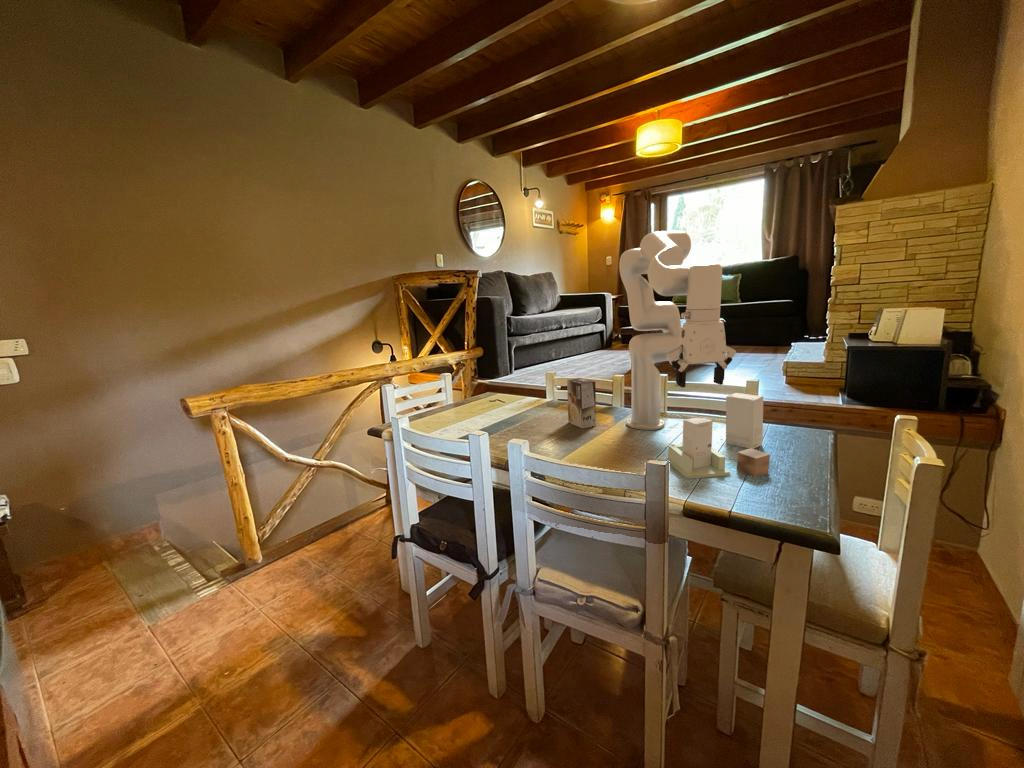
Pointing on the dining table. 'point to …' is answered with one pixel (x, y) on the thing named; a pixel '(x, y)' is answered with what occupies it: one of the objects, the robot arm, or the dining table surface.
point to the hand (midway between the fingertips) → (699, 384)
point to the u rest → (685, 463)
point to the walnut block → (753, 462)
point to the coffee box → (581, 402)
